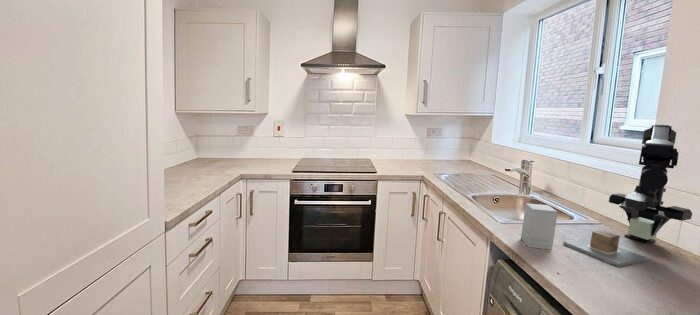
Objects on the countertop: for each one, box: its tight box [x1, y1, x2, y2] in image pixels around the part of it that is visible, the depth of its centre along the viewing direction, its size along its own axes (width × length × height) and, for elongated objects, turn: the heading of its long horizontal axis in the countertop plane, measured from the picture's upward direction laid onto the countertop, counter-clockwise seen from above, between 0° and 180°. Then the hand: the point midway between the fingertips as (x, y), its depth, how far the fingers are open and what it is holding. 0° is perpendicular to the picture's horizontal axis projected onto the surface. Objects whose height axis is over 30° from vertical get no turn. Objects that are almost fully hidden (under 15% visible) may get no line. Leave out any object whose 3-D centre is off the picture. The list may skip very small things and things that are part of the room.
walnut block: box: [590, 229, 620, 253], centre depth 102 cm, size 5×5×5 cm
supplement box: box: [520, 202, 558, 250], centre depth 106 cm, size 7×7×13 cm
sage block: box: [627, 217, 658, 240], centre depth 102 cm, size 5×5×5 cm
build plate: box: [562, 236, 648, 268], centre depth 103 cm, size 14×16×1 cm
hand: (642, 232), depth 102 cm, fingers closed on sage block, 5 cm apart
